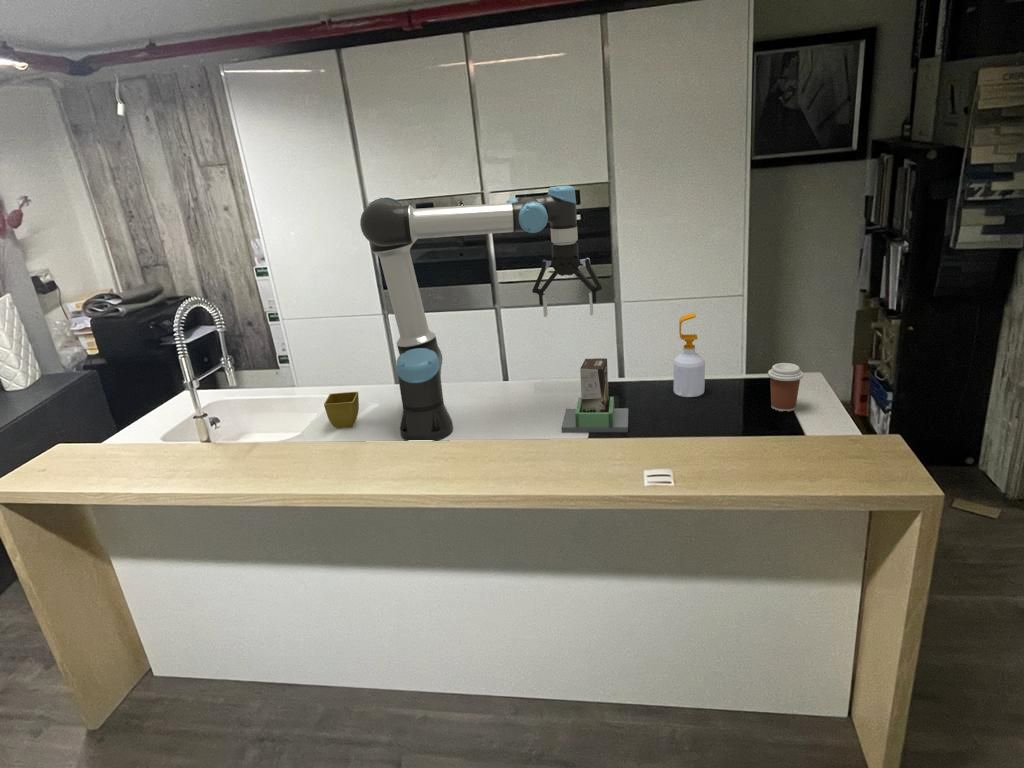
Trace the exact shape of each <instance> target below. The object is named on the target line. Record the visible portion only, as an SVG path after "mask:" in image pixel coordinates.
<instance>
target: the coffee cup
mask: <svg viewBox="0 0 1024 768" xmlns="http://www.w3.org/2000/svg"><path fill="white" fill-rule="evenodd" d="M767 376H768V377H769V379H770V382H769V383H770V402H771V404H770V407H771V409H773V410H774V409H775V411H777V410H778V411H777V412H783V411H787V412H792V411H795V410H796V408H797V401H798V394H799V389H800V382H801V379H803V378H804V372H803V371H802V370H801V369H800V366H799V365H797V364H795V363H791V362H790V363H789V362H780V363H776V364H773V365H772V367H771V369H769V370H768V372H767Z"/></svg>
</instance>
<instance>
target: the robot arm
mask: <svg viewBox="0 0 1024 768" xmlns="http://www.w3.org/2000/svg"><path fill="white" fill-rule="evenodd" d="M576 200H577V198H576V190H575V188H574V187H573V186H571V185H558V186H550V187H549V188H548V191H547V194H545V195H538V196H524V197H520V196H517V197H515V198H509V199H507V200H506V202H504V203H502V202H501V203H487V204H472V205H471V204H470V205H457V206H439V207H426V208H425V207H424V208H414V207H413V206H412V205H410V204H408V205H407V204H406V205H403V203H401V202H400V201H398V200H397V199H395V198H393V197H392V198H391V197H379V198H377V199H375V200H373V201H372V202H371V203H370V204H368V206H366V207H365V209H364V210H363V212H362V213H361V215H360V221H359V222H360V223H359V227H360V230H361V232H362V235H363V236H364V238H365V239H366V240H367V241H369V244H370V247H371V252H372V254H374V255H376V256H378V258H379V259H380V264H381V268H382V272H383V275H384V280H385V284H386V287H387V290H388V291H387V292H388V295H389V300H390V303H391V306H392V307H391V308H392V310H393V314H394V315H393V316H394V317H395V322H396V327H397V330H398V333H399V338H398V340H397V341H396V347H397V351H398V354H399V356H398V357H397V359H396V367H395V370H396V374H397V376H398V378H397V379H398V385H399V391H400V398H401V399H400V400H401V403H402V405H401V406H402V414H401V420H400V425H399V434H400V437H401V438H402V439H403V440H404V441H406V440H436V441H439V440H441V439H444V438H446V437H448V436H450V435H451V433H453V430H454V424H453V419H452V418H451V416H450V414H449V411H448V410H447V408H446V405H445V403H444V402H445V401H444V394H443V388H442V377H441V375H442V366H443V353H442V350H441V349H440V347H439V344H438V341H437V336H436V334H435V332H433V331H431V330H430V328H429V325H428V322H427V317H426V314H425V310H424V309H425V308H424V305H423V300H422V297H421V296H422V295H421V291H420V289H419V284H418V281H417V275H416V272H415V268H414V263H413V260H412V256H411V248H412V247H413V245H414V243H415V242H416V241H417V240H419V239H420V240H421V239H433V238H445V237H448V238H450V237H461V236H475V235H486V234H487V235H488V234H502V233H504V234H505V233H521V232H523V233H524V232H527V233H530V234H536V233H539V232H541V231H542V230H544V228H545V227H546V226H547V224H548V223H550V225H549V226H550V240H551V243H552V244H551V260H546V259H543V260H542V262H541V267H540V268H541V269H540V271H539V274H538V276H537V279H536V281H535V284H534V285H533V288H532V290H531V291H532V293H533V294H536V295H538V297H539V298H538V301H539V302H538V303H539V305H540V306H542V307H543V308H542V309H543V317H544V318H547V316H548V301H547V293H546V292H545V291H546V290H547V289H548V287H549V286H550V285H551V283H552V282H553V281H554V279H555V278H556V277H557V275H559V276H563V277H564V276H572V275H575V276H576V277H577V278H578V279H579V280H580V281H581V282H582V283H583V284H584V285H585V286H586V287H587V289H588V290H590V291H589V292H588V297H589V299H588V301H589V316H593V314H594V304H597V292H598V291H602V290H603V285H602V283H601V281H600V279H599V278H598V275H597V274H596V272H595V270H594V268H593V266H592V264H591V259H590V257H586V258H582V259H580V256H579V243H578V242H577V241H578V240H579V239H578V238H579V236H578V235H579V234H578V220H577V219H578V218H577V217H578V215H577V201H576ZM580 265H583V267H585V269H586V271H587V272H588V274H589V276H590V278H591V279H592V281H593V283H592V282H591V281H590V280H589V279H588V278H587V276H586V275H585V274H583V273H582V270H580V269H579V267H580ZM550 266H551V267H552V268H553V272H552V273H551V275H550V276H549V278H548V279H547V280H546V281H545V282H544V284H543V285H542V286H541V288H539V287H540V285H541V282H542V280H543V278H544V276H545V273H546V270H547V269H549V268H550Z"/></svg>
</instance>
